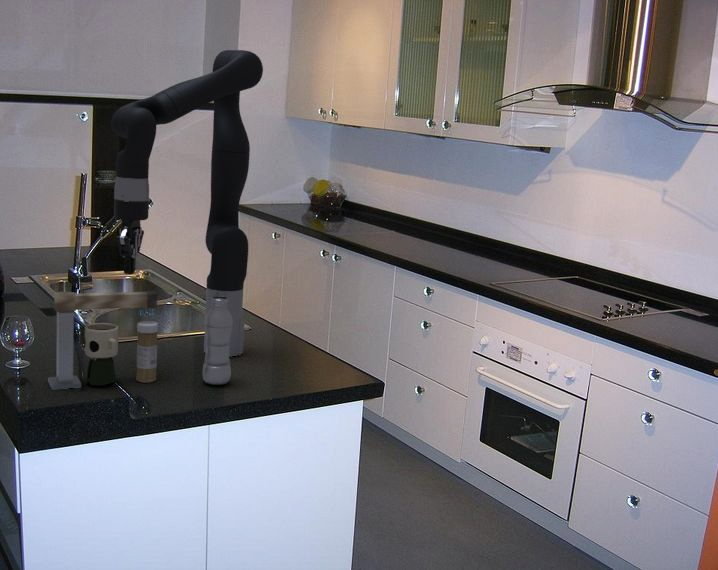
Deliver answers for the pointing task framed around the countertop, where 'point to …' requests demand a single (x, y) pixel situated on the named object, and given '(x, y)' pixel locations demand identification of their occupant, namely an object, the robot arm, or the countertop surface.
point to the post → (64, 354)
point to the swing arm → (103, 300)
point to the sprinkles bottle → (146, 351)
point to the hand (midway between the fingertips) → (129, 273)
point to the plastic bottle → (217, 342)
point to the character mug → (101, 352)
